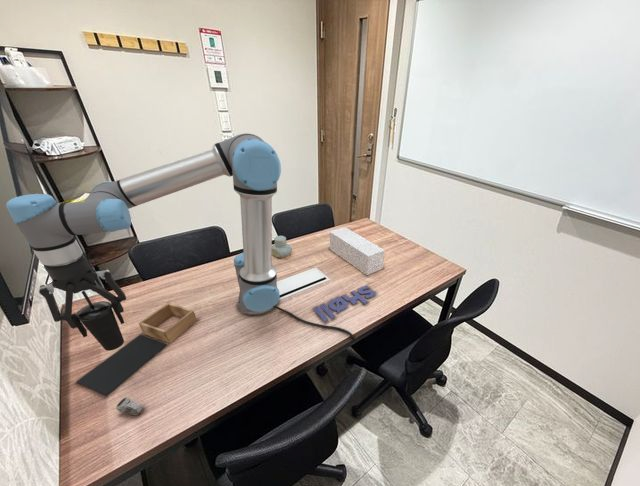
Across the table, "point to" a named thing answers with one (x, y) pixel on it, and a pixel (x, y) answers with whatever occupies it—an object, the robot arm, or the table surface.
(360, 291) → the signage
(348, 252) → the white rectangular block
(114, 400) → the table surface
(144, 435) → the table surface
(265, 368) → the table surface
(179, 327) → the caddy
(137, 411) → the grey stone
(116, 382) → the mat
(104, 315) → the drinking cup
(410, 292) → the table surface
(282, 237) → the air freshener
